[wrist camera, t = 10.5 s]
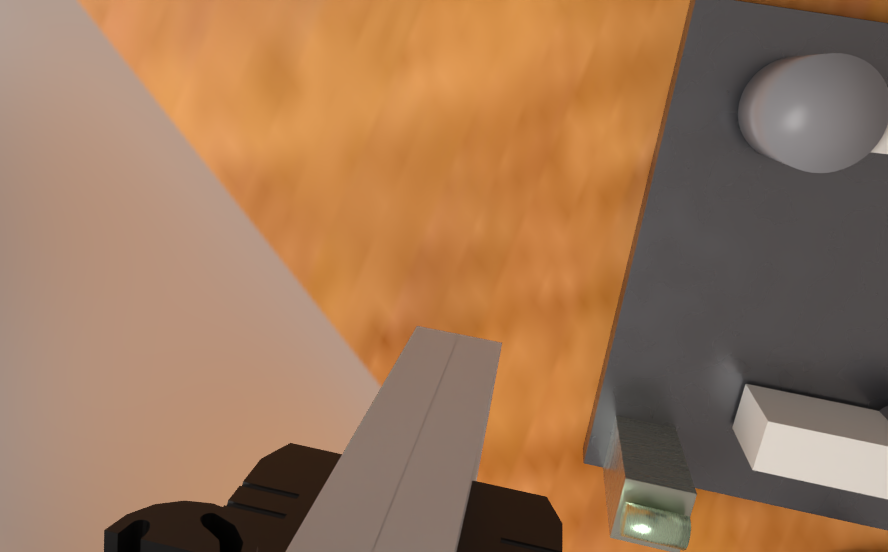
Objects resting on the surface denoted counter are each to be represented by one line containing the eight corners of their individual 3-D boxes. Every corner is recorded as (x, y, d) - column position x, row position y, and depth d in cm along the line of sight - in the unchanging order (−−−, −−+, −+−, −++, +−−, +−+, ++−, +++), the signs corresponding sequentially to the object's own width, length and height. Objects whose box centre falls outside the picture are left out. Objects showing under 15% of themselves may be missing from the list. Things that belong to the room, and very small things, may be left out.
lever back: (976, 410, 34) (1035, 458, 29) (943, 492, 35) (995, 549, 31) (751, 364, 35) (777, 404, 30) (726, 445, 36) (748, 494, 32)
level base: (691, -2, 33) (736, -29, 24) (1072, 55, 31) (1265, 48, 22) (582, 448, 39) (588, 552, 31) (892, 516, 37) (988, 646, 29)
